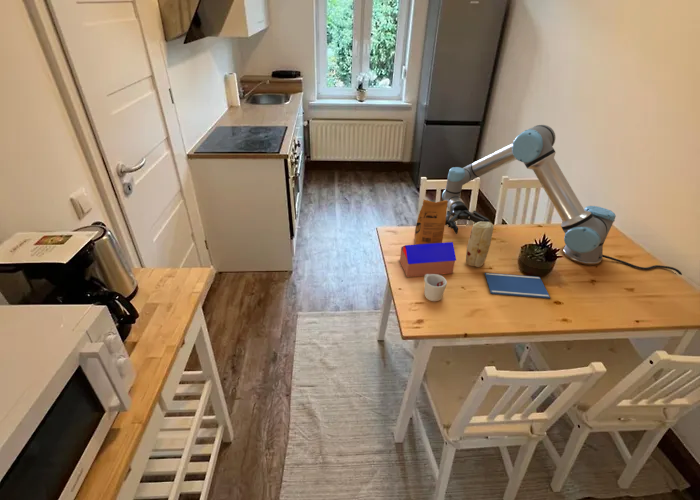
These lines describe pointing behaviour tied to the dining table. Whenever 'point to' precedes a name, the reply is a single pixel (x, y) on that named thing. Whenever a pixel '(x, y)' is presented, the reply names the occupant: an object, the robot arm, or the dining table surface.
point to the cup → (434, 286)
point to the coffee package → (431, 222)
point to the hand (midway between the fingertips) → (472, 231)
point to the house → (428, 259)
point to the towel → (516, 285)
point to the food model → (479, 243)
